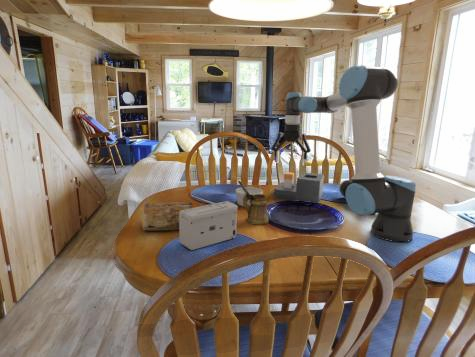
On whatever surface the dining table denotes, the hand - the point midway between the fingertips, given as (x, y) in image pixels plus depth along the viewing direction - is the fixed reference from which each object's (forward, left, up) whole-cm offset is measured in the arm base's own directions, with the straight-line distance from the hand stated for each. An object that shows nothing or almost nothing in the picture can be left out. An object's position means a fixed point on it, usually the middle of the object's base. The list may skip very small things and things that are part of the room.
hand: (290, 164), depth 174 cm
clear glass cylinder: (0, 0, -15) cm, 15 cm away
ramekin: (-22, +15, -18) cm, 32 cm away
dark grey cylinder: (-1, -36, -18) cm, 40 cm away
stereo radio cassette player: (-69, +14, -18) cm, 72 cm away
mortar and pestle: (-43, +6, -18) cm, 47 cm away
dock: (0, -6, -17) cm, 18 cm away
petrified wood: (-63, +35, -18) cm, 74 cm away
